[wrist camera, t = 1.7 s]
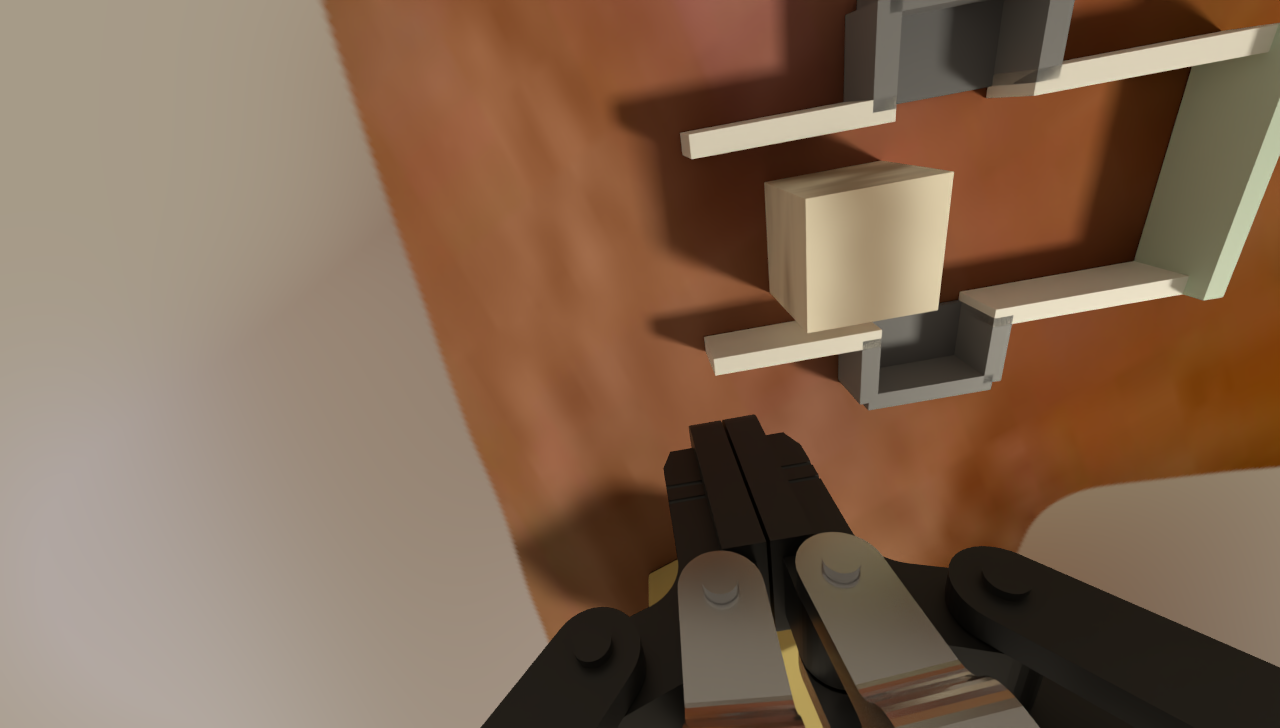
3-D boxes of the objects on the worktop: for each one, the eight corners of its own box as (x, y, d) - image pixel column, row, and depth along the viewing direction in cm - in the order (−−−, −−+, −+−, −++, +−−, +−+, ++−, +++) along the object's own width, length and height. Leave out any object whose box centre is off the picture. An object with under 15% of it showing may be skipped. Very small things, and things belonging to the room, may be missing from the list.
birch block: (880, 160, 25) (953, 171, 20) (874, 273, 28) (937, 310, 22) (763, 181, 25) (805, 198, 20) (769, 292, 28) (807, 333, 22)
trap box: (1257, -78, 21) (1387, -118, 18) (1126, 336, 30) (1195, 365, 27) (668, 35, 22) (679, 19, 18) (712, 407, 31) (725, 445, 27)
